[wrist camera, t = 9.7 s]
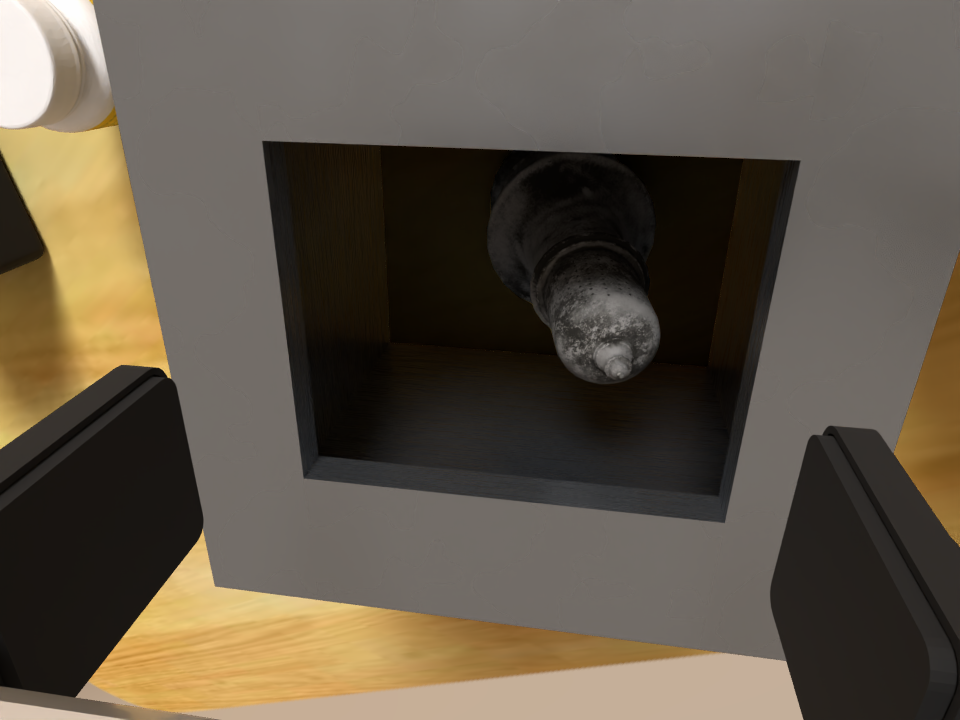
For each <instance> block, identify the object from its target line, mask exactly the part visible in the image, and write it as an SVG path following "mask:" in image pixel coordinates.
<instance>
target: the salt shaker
mask: <svg viewBox="0 0 960 720" xmlns="http://www.w3.org/2000/svg"><path fill="white" fill-rule="evenodd" d="M655 229H656V218H655V211H654V205H653V201H652V199H651V197H650V195H649V193H648V191H647V189H646V187H645V185H644V183H643V182H642V181H641V180H640V179H639V178H638V176H637V175H636V174H635V173H634V172H633V171H632V170H631V169H630V168H629V167H628V166H626V165H624V164H622V163H621V162H619V161H618V160H617V158H616V156H615V155H614V154H611V153H583V152H556V151H529V150H513V151H512V152H511V153H510V154H509V155H508V156H507V157H506V158H505V159H504V161H503V162H502V164H501V166H500V168H499V169H498V171H497V173H496V175H495V178H494V181H493V185H492V189H491V214H490V218H489V221H488V225H487V250H488V253H489V256H490V259H491V263H492V266H493V269H494V270H495V272H496V273H497V275H498V276H499V278H500V279H501V281H502V282H503V284H504V285H505V286H506V287H508V288H509V289H510V290H511V291H512V292H513V293H515V294H516V295H517V296H518V297H519V298H522V299H524V300H526V301H528V302H530V303H532V304H533V307H534V310H535V312H536V313H537V315H538V316H539V318H540V319H541V321H542V322H543V323H545V324H546V325H547V326H548V327H549V328H550V329H551V331H552V336H553V340H554V344H555V348H556V351H557V355H558V356H559V358H560V359H561V361H562V362H563V364H564V365H565V367H566V368H567V369H568V370H569V371H570V372H571V373H573V374H574V375H575V376H576V377H579V378H581V379H583V380H585V381H588V382H593V383H598V384H614V383H619V382H623V381H626V380H628V379H630V378H632V377H634V376H636V375H637V374H639V373H640V372H641V371H642V370H644V369H645V368H646V367H647V366H648V365H649V364H650V362H651V361H652V360H653V359H654V357H655V355H656V353H657V350H658V348H659V343H660V326H659V321H658V317H657V315H656V313H655V311H654V309H653V307H652V305H651V303H650V301H649V299H648V297H647V296H648V291H649V283H650V278H649V273H648V267H647V265H646V261H647V258H648V256H649V253H650V251H651V249H652V246H653V244H654V237H655Z"/></svg>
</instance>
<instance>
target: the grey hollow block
mask: <svg viewBox="0 0 960 720" xmlns="http://www.w3.org/2000/svg"><path fill="white" fill-rule="evenodd" d="M93 5H94V10H95V15H96V19H97V24H98V29H99V34H100V38H101V43H102V48H103V53H104V58H105V62H106V67H107V72H108V77H109V82H110V86H111V91H112V96H113V101H114V105H115V110H116V115H117V120H118V125H119V129H120V134H121V139H122V144H123V148H124V153H125V158H126V163H127V168H128V172H129V177H130V182H131V187H132V192H133V196H134V201H135V206H136V211H137V215H138V220H139V225H140V230H141V235H142V239H143V244H144V249H145V254H146V259H147V263H148V268H149V273H150V278H151V282H152V287H153V292H154V297H155V302H156V306H157V311H158V316H159V321H160V325H161V330H162V335H163V340H164V345H165V349H166V354H167V359H168V364H169V369H170V373H171V378H172V380H173V381H174V382H175V384H176V387H177V391H178V396H179V400H180V405H181V410H182V415H183V420H184V425H185V430H186V434H187V439H188V444H189V449H190V454H191V459H192V463H193V468H194V473H195V478H196V483H197V488H198V492H199V497H200V502H201V507H202V512H203V518H204V523H203V531H204V536H205V541H206V546H207V550H208V555H209V560H210V565H211V569H212V574H213V579H214V584H215V586H216V587H224V588H231V589H239V590H247V591H254V592H262V593H270V594H277V595H285V596H293V597H300V598H308V599H316V600H323V601H331V602H339V603H346V604H354V605H362V606H369V607H377V608H385V609H392V610H400V611H408V612H415V613H423V614H431V615H438V616H446V617H454V618H461V619H469V620H477V621H484V622H492V623H500V624H507V625H515V626H523V627H530V628H538V629H546V630H553V631H561V632H569V633H576V634H584V635H592V636H599V637H607V638H615V639H622V640H630V641H638V642H645V643H653V644H661V645H668V646H676V647H684V648H691V649H699V650H707V651H714V652H722V653H730V654H738V655H745V656H753V657H761V658H768V659H776V660H783V661H786V658H785V654H784V651H783V648H782V644H781V641H780V637H779V634H778V630H777V627H776V624H775V620H774V617H773V613H772V609H771V603H770V587H771V582H772V578H773V574H774V570H775V566H776V562H777V558H778V554H779V551H780V547H781V543H782V539H783V535H784V531H785V527H786V523H787V520H788V516H789V512H790V508H791V504H792V500H793V496H794V493H795V489H796V485H797V481H798V477H799V473H800V469H801V465H802V462H803V458H804V454H805V450H806V446H807V443H808V440H809V438H810V437H811V436H812V435H822V434H823V432H824V431H825V429H826V428H827V427H828V426H830V425H831V426H842V427H854V428H866V429H874V430H877V431H878V432H879V433H880V435H881V436H882V438H883V439H884V441H885V442H886V444H887V445H888V446H889V448H890V449H891V451H892V452H893V453H894V450H895V447H896V444H897V441H898V438H899V435H900V432H901V429H902V426H903V422H904V419H905V416H906V413H907V410H908V407H909V404H910V401H911V398H912V395H913V392H914V389H915V386H916V383H917V380H918V376H919V373H920V370H921V367H922V364H923V361H924V358H925V355H926V352H927V349H928V346H929V343H930V340H931V337H932V333H933V330H934V327H935V324H936V321H937V318H938V315H939V312H940V309H941V306H942V303H943V300H944V297H945V294H946V291H947V287H948V284H949V281H950V278H951V275H952V272H953V269H954V266H955V263H956V260H957V257H958V254H959V251H960V0H93ZM380 145H393V146H420V147H447V148H474V149H502V150H529V151H556V152H583V153H611V154H638V155H665V156H692V157H719V158H744V159H743V165H742V170H741V176H740V182H739V188H738V193H737V199H736V205H735V211H734V216H733V222H732V228H731V234H730V239H729V245H728V251H727V257H726V262H725V268H724V274H723V280H722V285H721V291H720V297H719V303H718V309H717V314H716V320H715V326H714V332H713V337H712V343H711V349H710V355H709V360H708V366H707V367H706V366H693V365H680V364H667V363H654V362H650V364H649V365H648V366H647V367H646V368H645V369H644V370H642V371H641V372H640V373H639V374H637V375H636V376H634V377H632V378H630V379H628V380H626V381H623V382H619V383H614V384H598V383H593V382H588V381H585V380H583V379H581V378H579V377H576V376H575V375H574V374H573V373H571V372H570V371H569V370H568V369H567V368H566V367H565V365H564V364H563V362H562V361H561V359H560V358H559V356H558V355H550V354H536V353H523V352H510V351H497V350H484V349H471V348H458V347H445V346H432V345H419V344H406V343H393V342H390V328H389V308H388V289H387V269H386V250H385V230H384V210H383V191H382V171H381V152H380Z"/></svg>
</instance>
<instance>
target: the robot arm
mask: <svg viewBox="0 0 960 720" xmlns="http://www.w3.org/2000/svg"><path fill="white" fill-rule="evenodd" d="M203 523H204V518H203V512H202V507H201V502H200V497H199V492H198V488H197V483H196V478H195V473H194V468H193V463H192V459H191V454H190V449H189V444H188V439H187V434H186V430H185V425H184V420H183V415H182V410H181V405H180V400H179V396H178V391H177V387H176V384H175V382H174V381H173V380H172V379H170V378H167V375H166V374H165V373H164V371H163V370H161V369H160V368H153V367H142V366H130V365H121V366H119V367H116V368H115V369H113V370H112V371H111V372H109V373H108V374H106V375H105V376H104V377H102V378H101V379H99V380H98V381H96V382H95V383H94V384H92V385H91V386H89V387H88V388H87V389H85V390H84V391H82V392H81V393H79V394H78V395H77V396H75V397H74V398H72V399H71V400H70V401H68V402H67V403H65V404H64V405H63V406H61V407H60V408H58V409H57V410H55V411H54V412H53V413H51V414H50V415H48V416H47V417H46V418H44V419H43V420H41V421H40V422H38V423H37V424H36V425H34V426H33V427H31V428H30V429H29V430H27V431H26V432H24V433H23V434H21V435H20V436H19V437H17V438H16V439H14V440H13V441H12V442H10V443H9V444H7V445H6V446H5V447H3V448H2V449H0V720H217V719H211V718H205V717H199V716H192V715H186V714H180V713H173V712H167V711H160V710H153V709H147V708H140V707H134V706H127V705H120V704H114V703H107V702H100V701H94V700H88V699H81V698H75V697H76V696H77V695H78V693H79V692H80V691H81V689H82V688H83V687H84V686H85V684H86V683H87V682H88V681H89V679H90V678H91V677H92V675H93V674H94V673H95V672H96V670H97V669H98V668H99V666H100V665H101V664H102V663H103V661H104V660H105V659H106V657H107V656H108V655H109V654H110V652H111V651H112V650H113V649H114V647H115V646H116V645H117V643H118V642H119V641H120V640H121V638H122V637H123V636H124V634H125V633H126V632H127V631H128V629H129V628H130V627H131V625H132V624H133V623H134V622H135V620H136V619H137V618H138V617H139V615H140V614H141V613H142V611H143V610H144V609H145V608H146V606H147V605H148V604H149V602H150V601H151V600H152V599H153V597H154V596H155V595H156V593H157V592H158V591H159V590H160V588H161V587H162V586H163V585H164V583H165V582H166V581H167V579H168V578H169V577H170V576H171V574H172V573H173V572H174V570H175V569H176V568H177V567H178V565H179V564H180V563H181V561H182V560H183V559H184V558H185V556H186V555H187V554H188V553H189V551H190V550H191V549H192V547H193V546H194V545H195V544H196V542H197V541H198V539H199V538H200V535H201V533H202V529H203ZM770 603H771V609H772V613H773V617H774V620H775V624H776V627H777V630H778V634H779V637H780V641H781V644H782V648H783V651H784V654H785V658H786V661H787V665H788V668H789V672H790V675H791V678H792V682H793V685H794V689H795V692H796V695H797V699H798V702H799V706H800V709H801V712H802V716H803V719H804V720H960V547H959V546H958V544H957V543H956V542H955V541H954V540H953V539H952V538H951V537H950V536H949V534H948V533H947V531H946V530H945V528H944V527H943V526H942V524H941V523H940V521H939V520H938V518H937V517H936V515H935V514H934V512H933V511H932V509H931V508H930V507H929V505H928V504H927V502H926V501H925V499H924V498H923V496H922V495H921V493H920V492H919V490H918V489H917V487H916V486H915V485H914V483H913V482H912V480H911V479H910V477H909V476H908V474H907V473H906V471H905V470H904V468H903V467H902V465H901V464H900V463H899V461H898V460H897V458H896V457H895V455H894V454H893V452H892V451H891V449H890V448H889V446H888V445H887V444H886V442H885V441H884V439H883V438H882V436H881V435H880V433H879V432H878V431H877V430H874V429H866V428H854V427H842V426H831V425H830V426H828V427H827V428H826V429H825V431H824V432H823V434H822V435H812V436H811V437H810V438H809V440H808V443H807V446H806V450H805V454H804V458H803V462H802V465H801V469H800V473H799V477H798V481H797V485H796V489H795V493H794V496H793V500H792V504H791V508H790V512H789V516H788V520H787V523H786V527H785V531H784V535H783V539H782V543H781V547H780V551H779V554H778V558H777V562H776V566H775V570H774V574H773V578H772V582H771V587H770Z"/></svg>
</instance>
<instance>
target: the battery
mask: <svg viewBox="0 0 960 720" xmlns="http://www.w3.org/2000/svg"><path fill="white" fill-rule="evenodd" d="M43 252H44V249H43V246H42V244H41V242H40V239H39V237H38V235H37V233H36V231H35V229H34V227H33V225H32V223H31V221H30V219H29V217H28V214H27V212H26V210H25V208H24V206H23V204H22V202H21V200H20V198H19V196H18V194H17V192H16V190H15V187H14V185H13V183H12V181H11V179H10V177H9V175H8V173H7V171H6V169H5V167H4V165H3V163H2V161H1V158H0V274H3V273H5V272H7V271H10V270H12V269H15V268H17V267H19V266H22V265H24V264H27V263H29V262H31V261H34V260H36V259H38V258H40V257H41V256H42V255H43Z"/></svg>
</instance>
